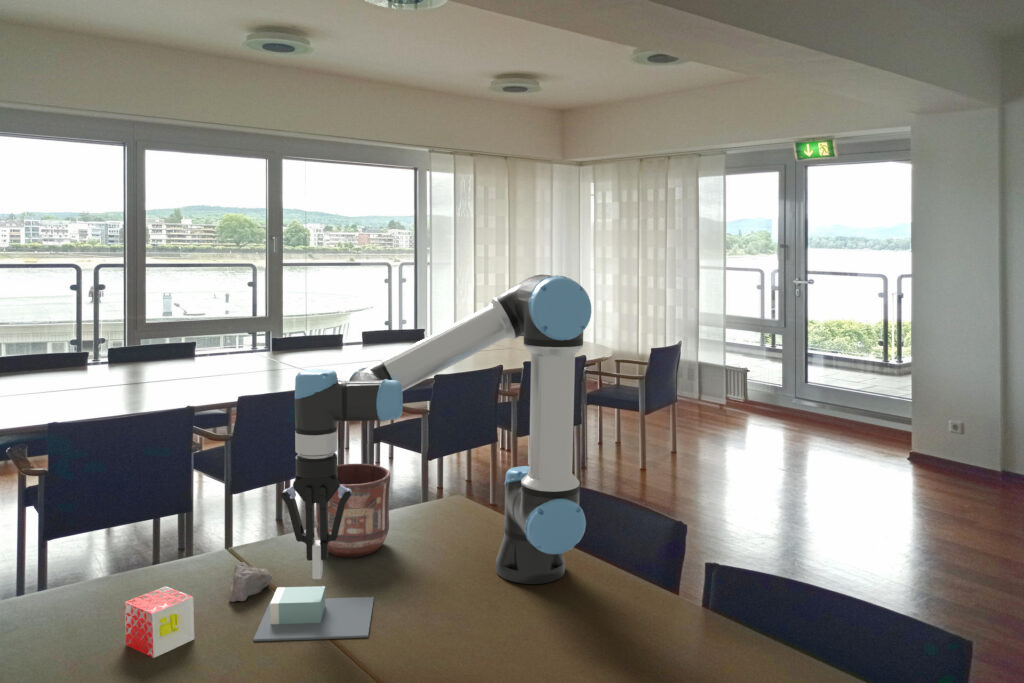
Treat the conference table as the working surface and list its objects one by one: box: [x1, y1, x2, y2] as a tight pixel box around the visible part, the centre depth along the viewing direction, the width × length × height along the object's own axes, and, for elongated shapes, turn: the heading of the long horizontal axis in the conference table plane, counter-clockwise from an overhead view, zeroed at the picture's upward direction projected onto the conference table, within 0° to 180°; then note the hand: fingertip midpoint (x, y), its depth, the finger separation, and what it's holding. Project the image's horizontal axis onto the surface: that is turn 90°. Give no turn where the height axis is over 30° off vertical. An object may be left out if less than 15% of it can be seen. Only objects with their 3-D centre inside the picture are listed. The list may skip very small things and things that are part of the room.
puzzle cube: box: [124, 586, 195, 659], centre depth 138 cm, size 8×8×8 cm
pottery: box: [315, 463, 391, 558], centre depth 183 cm, size 18×18×18 cm
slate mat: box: [252, 596, 375, 642], centre depth 148 cm, size 20×16×1 cm
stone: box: [228, 561, 273, 603], centre depth 159 cm, size 10×8×6 cm
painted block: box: [269, 585, 326, 624], centre depth 149 cm, size 4×7×9 cm
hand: (317, 576), depth 149 cm, fingers closed
